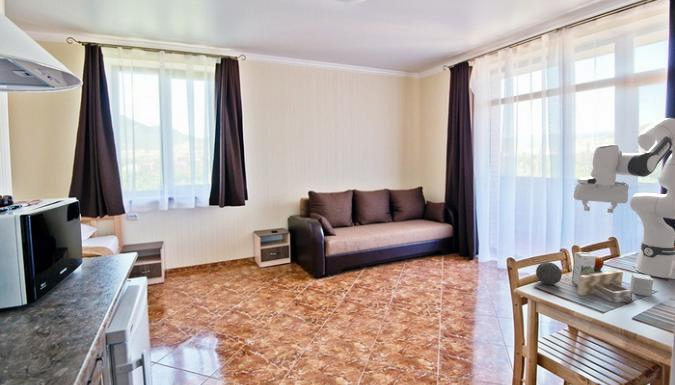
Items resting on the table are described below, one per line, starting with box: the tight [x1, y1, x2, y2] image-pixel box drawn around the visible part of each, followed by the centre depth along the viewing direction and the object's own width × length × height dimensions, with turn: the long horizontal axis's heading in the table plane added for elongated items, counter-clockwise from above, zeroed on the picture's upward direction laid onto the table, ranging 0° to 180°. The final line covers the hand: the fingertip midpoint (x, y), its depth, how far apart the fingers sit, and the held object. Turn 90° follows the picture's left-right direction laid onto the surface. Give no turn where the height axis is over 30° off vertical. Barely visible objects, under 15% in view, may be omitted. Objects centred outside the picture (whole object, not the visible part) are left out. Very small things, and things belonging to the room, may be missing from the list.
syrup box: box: [571, 251, 596, 286], centre depth 155 cm, size 6×6×14 cm
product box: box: [629, 272, 654, 297], centre depth 146 cm, size 6×6×7 cm
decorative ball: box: [535, 261, 562, 286], centre depth 156 cm, size 10×10×10 cm
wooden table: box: [577, 269, 633, 304], centre depth 143 cm, size 22×11×8 cm, turn 105°
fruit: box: [594, 256, 604, 272], centre depth 173 cm, size 8×8×8 cm
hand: (598, 211), depth 153 cm, fingers open, 8 cm apart
